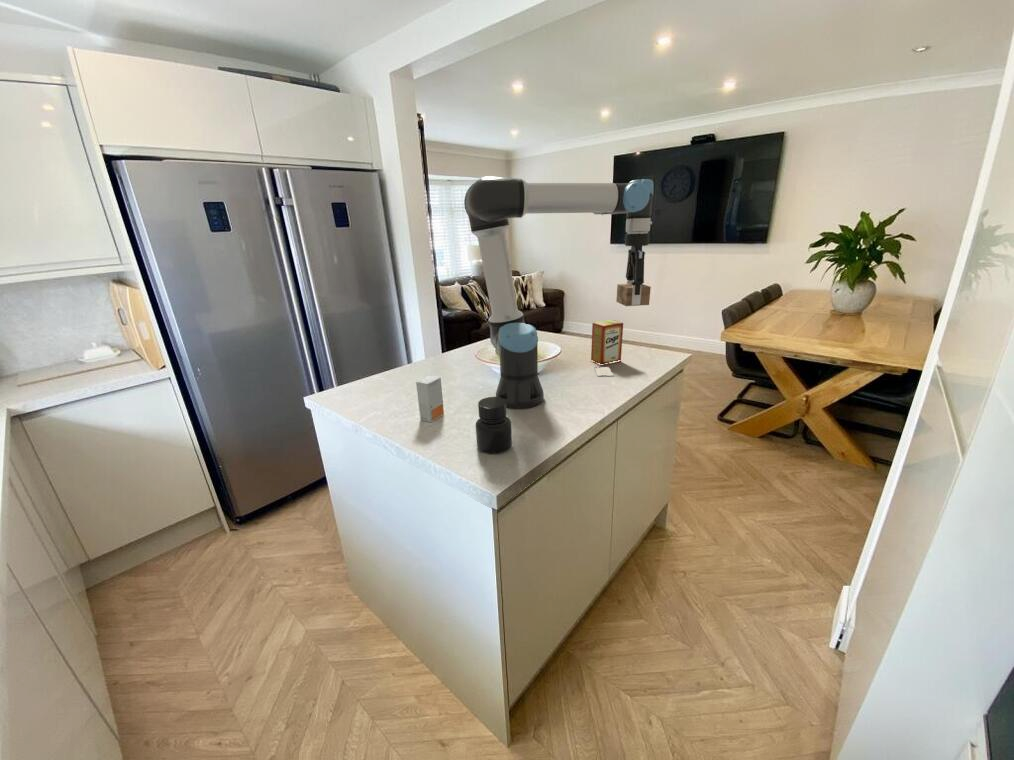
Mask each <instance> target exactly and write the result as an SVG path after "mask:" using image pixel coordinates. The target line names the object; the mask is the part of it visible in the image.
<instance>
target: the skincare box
mask: <svg viewBox="0 0 1014 760" xmlns="http://www.w3.org/2000/svg"><path fill="white" fill-rule="evenodd" d="M415 383H416V391H417V401H418V410H419V417H420V418H419V419H420V420H421V421H424V422H427V423H432V422H434V421H435V420H436V421H437V420H438V419H439V418H441V417H442V416H444V415H445V410H444V400H443V399H444V398H443V390H442V389H443V387H442V379H441V377H439V376H436V375H435V376H434V375H428V376H426V377H424V378H421V379H420V380H417V381H416V382H415Z"/></svg>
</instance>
